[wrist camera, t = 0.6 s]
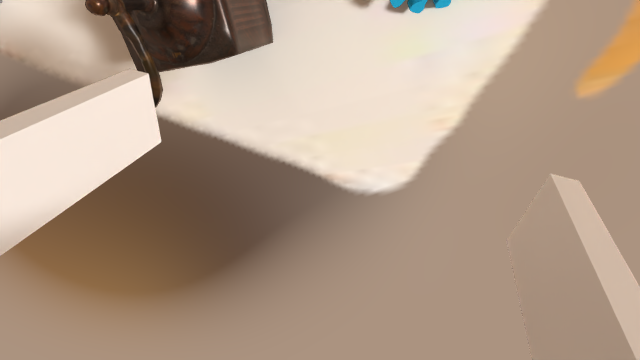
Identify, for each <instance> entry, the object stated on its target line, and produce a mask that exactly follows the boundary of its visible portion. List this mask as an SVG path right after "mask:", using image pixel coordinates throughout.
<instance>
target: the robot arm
mask: <svg viewBox="0 0 640 360" xmlns="http://www.w3.org/2000/svg"><path fill="white" fill-rule="evenodd" d="M160 142H161V138H160V133H159V127H158V121H157V116H156V111H155V105H154V100H153V94H152V89H151V84H150V78H149V74H148V73H144V72H140V71H136V70H132V69H128V70H125V71H123V72H120V73H118V74H115V75H113V76H110V77H108V78H105V79H103V80H100V81H98V82H95V83H93V84H90V85H88V86H85V87H83V88H81V89H78V90H76V91H73V92H71V93H68V94H66V95H63V96H61V97H58V98H56V99H53V100H51V101H48V102H46V103H43V104H41V105H38V106H36V107H33V108H31V109H28V110H26V111H23V112H21V113H18V114H16V115H13V116H11V117H9V118H6V119H3V120H1V121H0V255H2V254H3V253H4V252H6V251H8V250H9V249H10V248H12V247H13V246H15V245H16V244H17V243H19V242H20V241H22V240H23V239H24V238H26V237H27V236H29V235H30V234H32V233H33V232H34V231H36V230H37V229H39V228H40V227H41V226H43V225H44V224H46V223H47V222H48V221H50V220H51V219H53V218H54V217H56V216H57V215H58V214H60V213H61V212H63V211H64V210H66V209H67V208H68V207H70V206H71V205H73V204H74V203H75V202H77V201H78V200H80V199H81V198H83V197H84V196H85V195H87V194H88V193H90V192H91V191H92V190H94V189H95V188H97V187H98V186H100V185H101V184H102V183H104V182H105V181H106V180H108V179H109V178H111V177H112V176H114V175H115V174H117V173H118V172H119V171H121V170H122V169H124V168H125V167H127V166H128V165H129V164H131V163H132V162H134V161H135V160H136V159H138V158H139V157H141V156H142V155H143V154H145V153H146V152H148V151H149V150H151V149H152V148H153V147H155V146H156V145H158V144H159V143H160ZM507 245H508V250H509V254H510V259H511V264H512V269H513V273H514V278H515V283H516V287H517V292H518V297H519V302H520V306H521V311H522V316H523V320H524V325H525V330H526V335H527V339H528V344H529V349H530V353H531V358H532V360H640V287H639V285H638V283H637V281H636V279H635V278H634V276H633V274H632V273H631V271H630V269H629V267H628V266H627V264H626V262H625V260H624V259H623V257H622V255H621V253H620V251H619V250H618V248H617V246H616V244H615V243H614V241H613V239H612V237H611V236H610V234H609V232H608V230H607V229H606V227H605V225H604V223H603V222H602V220H601V218H600V216H599V215H598V213H597V211H596V209H595V208H594V206H593V204H592V202H591V201H590V199H589V197H588V195H587V194H586V192H585V190H584V188H583V186H582V185H581V183H580V181H578V180H574V179H570V178H565V177H562V176H558V175H554V174H550V175H549V177H548V178H547V180H546V181H545V183H544V184H543V186H542V187H541V189H540V190H539V192H538V193H537V195H536V196H535V198H534V199H533V201H532V202H531V204H530V205H529V207H528V208H527V210H526V211H525V213H524V214H523V216H522V217H521V219H520V220H519V222H518V223H517V225H516V226H515V228H514V230H513V231H512V233H511V234H510V236H509V237H508V239H507Z"/></svg>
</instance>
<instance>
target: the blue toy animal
mask: <svg viewBox="0 0 640 360" xmlns="http://www.w3.org/2000/svg"><path fill="white" fill-rule="evenodd" d="M404 1H405V0H390V2H391V4H392V6H393V7H394V8H396V7H399V6H400V5H401V4H402V3H403V2H404ZM427 1H428V0H408V3H407V4H408V6H409V9H410V11H412V12H414V13H420V12H421V11H422V10H423V9H424V7H425V4H426V2H427ZM433 2H434V4H435V7H436V8H443V7H447V6H449V4H450V2H451V0H433Z"/></svg>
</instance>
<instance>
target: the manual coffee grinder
mask: <svg viewBox="0 0 640 360" xmlns="http://www.w3.org/2000/svg"><path fill="white" fill-rule="evenodd" d="M85 5H86V8H87V9H88V10H89V11H90V12H91V13H93V14H94V15H100V16H105V15H106V14H108V15H110V16H111V17H113V19H114V21H115V23H116V25H117V27H118V29H119V30H120V31H121V33H122V36H123V38H124V40H125V43H126V45H127V47H128V50H129V52H130V55H131V57H132V59H133V62H134V64H135V66H136V69H137V71H140V72H144V73H148V74H149V78H150V84H151V89H152V94H153V100H154V105H155V108H156V107H157V105H158V104H159V102H160V100H161V97H162V92H163V88H162V83H161V79H160V75H159V72H164V71H170V70H175V69H180V68H185V67H190V66H197V65H203V64H209V63H213V62H216V61H219V60H222V59H225V58H228V57H232V56H235V55H238V54H241V53H243V52H246V51H250V50H253V49H256V48H259V47H262V46H264V45H267V44H270V43H273V36H272V24H271V20H270V16H269V11H268V7H267V2H266V0H86V2H85Z"/></svg>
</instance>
